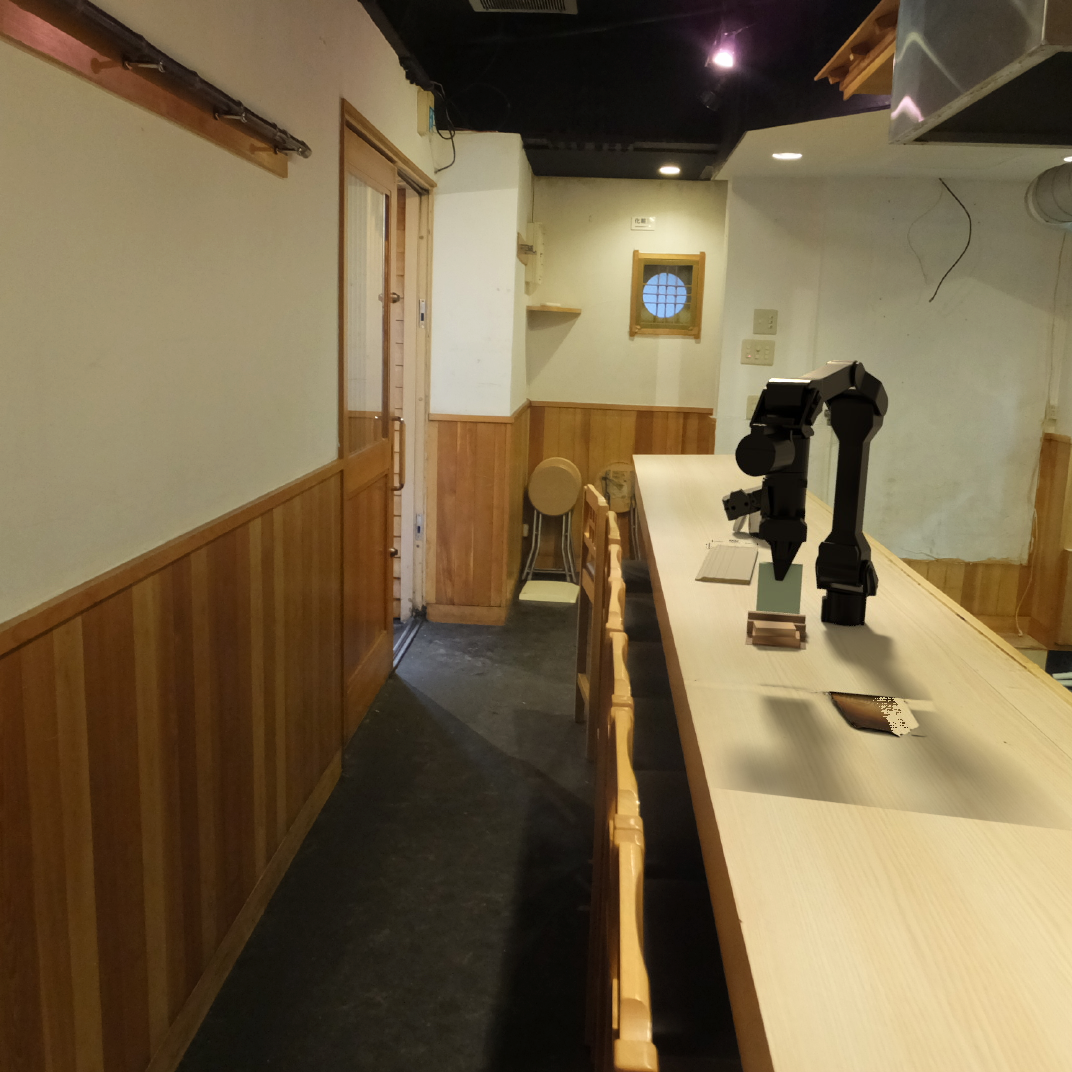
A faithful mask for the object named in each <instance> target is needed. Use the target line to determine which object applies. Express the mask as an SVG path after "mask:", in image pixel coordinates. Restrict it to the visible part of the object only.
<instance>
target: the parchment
mask: <svg viewBox="0 0 1072 1072" xmlns="http://www.w3.org/2000/svg"><path fill="white" fill-rule="evenodd" d="M829 695H830V697H831V700H832V701H834V702H835V703H836V706H838V708H839V709H841V712H842V713H843V714H844V716H845V718H846V719H847V720H848V721H850V723H851V724H852V725H853V726H854V728H855V729H860V728H866V729H867V728H868V729H874V730H879V731H887V732H890V733H893V732H892V731H893V730H891V728H892V727H890V726H892V725H889V724H890V722H888V720H887V719H886V718H887V717H883V716H888V715H890V714H884V712H881V711H882V710H885V709H886V708H891V709H887V711H888V710H889V711H893V710H892V709H893V707H892V706H893V705H896V706H897V705H898V704H897V703H896V702H895V701H893V700H894V699H892V698H893V697H894V698H895V697H896V696H887V695H886V696H885V695H874V694H865V693H864V694H862V693H852V692H841V691H832V690H829ZM880 697H882V698H883V697H885V698H887V699H883V700H886V701H877V700H880V699H879V698H880ZM888 697H889V698H891V699H888ZM875 698H876V699H875ZM877 698H878V699H877ZM873 700H874V701H873ZM881 700H882V699H881ZM888 700H891V701H889V702H888ZM877 703H878V704H877ZM882 703H883V704H882ZM884 703H887V704H884ZM893 703H896V704H893ZM882 705H883V706H884V705H885V706H886V705H887V706H886V707H885V708H883V709H881V708H882V707H881V706H882ZM889 705H891V707H888V706H889ZM879 706H880V707H879ZM894 710H897V709H894ZM898 711H901V710H900V709H898ZM887 713H888V712H887ZM897 713H899V712H896V715H897ZM900 713H901V712H900ZM898 720H899V719H898ZM900 720H902V719H900ZM902 721H903V720H902ZM893 723H894V722H893ZM900 723H901V722H900ZM895 724H896V723H895ZM902 724H905V722H902ZM893 726H894V725H893ZM900 726H901V725H900ZM902 726H904V725H902ZM893 728H894V727H893ZM895 728H897V727H895ZM904 728H906V727H904ZM907 728H908V727H907Z"/></svg>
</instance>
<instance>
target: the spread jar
mask: <svg viewBox="0 0 1072 1072" xmlns="http://www.w3.org/2000/svg"><path fill="white" fill-rule="evenodd" d="M747 519H748V521H747ZM760 521H761V516H760V511H758V512H755V513H752V514H748V515H745V516H741V517H739V518H738V519H736V520H734V522H733V526H732V531H733V532H734V533H737V534H738V533H741V531H742V530H743V528H744V526H745V524H746V522H747V523H748V526H747V527H748V535H749V536H750V537H752V536H753V537H752V538H755V537H756V538H755V539H758V535H759V523H760Z"/></svg>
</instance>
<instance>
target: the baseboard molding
mask: <svg viewBox="0 0 1072 1072" xmlns="http://www.w3.org/2000/svg"><path fill="white" fill-rule="evenodd" d="M711 542H712V543H713V542H714V540H713V539H712V540H711ZM716 542H718V543H719V542H720V543H722V541H720V540H716ZM730 543H732V544H735V543H736V544H737V543H739V540H737V539H730ZM746 544H747V545H748V544H749V545H750V544H751V543H749V542H748V543H747V542H746ZM705 545H706V549H707V545H708V549H709V550H708V552H707V554H706V556H705V558H704V560H703V562H702V564H701V567H700V568H699V570H698V572H697V574H696V576H695V578H694V580H695V581H697V582H698V581H702V582H711V583H712V582H713V583H714V582H715V583H725V584H727V583H728V584H737V585H750V581H751V579H752V578H751V577H752V574H753V571H754V567H755V563H756V560H757V559H756V558H757V555H758V551H759V547H758V545H759V543H758V542H756V545H757V546H746V545H745V546H744V545H743V546H742V545H739V546H738V545H730V544H729V545H727V544H725V545H724V544H723V545H722V544H716V545H715V546H711V543H710V542H709V543H706V544H705Z"/></svg>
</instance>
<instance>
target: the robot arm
mask: <svg viewBox="0 0 1072 1072" xmlns="http://www.w3.org/2000/svg"><path fill="white" fill-rule="evenodd" d="M824 405H825V406H826V408H827V410H828V411H829V425H830V427H831V428H832V431H833V433H834V434H835V436H836V438H837V439H838V448H837V449H838V450H837V452H838V453H837V463H836V464H837V465H836V472H835V473H836V475H835V488H834V498H833V499H834V500H833V511H832V524H831V530H830V532H829V534H827V536H826V538H825V539H824V540H823V541H820V543H819V545H818V547H817V549H818V550H817V551H818V553H817V554H818V555H817V557H816V559H815V564H814V568H815V569H814V571H815V579H816V580H815V581H816V589H817V590H824V591H825V595H823V596H822V595H821V596H822V597H821V605H820V622H822V623H826V624H833V625H836V626H842V627H857V626H863V627H864V626H865V624H866V612H867V602H868V601H867V600H868V599H867V598H868V597H876V596H877V591H878V587H879V581H880V580H879V577H878V574H877V571H876V568H875V565H874V562H873V561H872V547H871V546H870V543H869V542H868V540H867V537H866V536H865V534H864V532H863V526H864V518H865V517H864V515H865V504H866V494H867V493H866V492H867V483H868V474H869V473H868V471H869V460H870V452H871V451H870V450H871V448H870V447H871V442H872V441H873V439H874V438H875V436H876V435H877V434H878V432H879V431H880V430H881V429H882V427H883V426H884V425H883V424H884V418H885V416H886V414H887V413H888V407H889V397H888V394H887V390H886V389H885V387H884V385H883V382H882V381H881V380H880V379H878V378H877V377H875V376H874V375H873V374H871V373H870V372H868V371H867V369H865V367H864V364H863V363H862V362H861V361H858V360H855V359H854V360H853V359H832V360H830V361H827V362H826V363H825V364H824V365H823V366H820V367H818V368H816V369H814V370H812V371H810V372H808V373H805V374H804V375H802V376H799V377H774V378H771V379H769V380H768V381H767V382H766V384H765V387H763V388H762V390H761V393H760V395H759V398H758V401H757V403H756V405H755V408H754V411H753V414H752V416H751V419H750V421H749V425H748V426H749V428H750V433H748V434H746V435H744V437H742V438H741V439H740V441H738V444H737V446H736V449H735V450H734V451H735V453H734V458H735V462H736V465H737V466H738V468H739V470H740V471H741V472H742V473H744V474H745V475H747V476H749V477H753V478H755V477H762V480H761V481H762V482H761V485H757V486H754V487H750V488H746V489H742V488H739V489H738V490H731V491H730V493H729V494H726V495H724V496H723V497H722V499H721V502H722V505H723V510H724V512H725V514H726V518H727V521H729V522H731V521H735V520H736V519H738V518H739V517H741V516H745V515H748V514H752V513H755V512H758V511H760V516H761V521H760V523H759V535H758V538H757V539H758V540H761V541H765V542H766V543H767V544H768V545H769V546H770V547H769V548H770V554H771V562H773V569H774V576H775V580H776V581H783V580H784V578H785V576H786V574H787V572H788V570H789V568H790V566H791V564H793V562H794V560H795V558H796V557H797V554H798V552H799V550H800V549H801V546H802V545H803V543H807V541H808V539H807V538H808V523H807V522H806V501H807V490H808V478H809V477H808V473H809V463H810V462H809V460H810V448H811V437H814V435H815V431H814V428H813V427H814V424H815V422H816V420H817V418H818V416H819V415H820V414H821V413H823V408H824ZM748 516H749V515H748Z"/></svg>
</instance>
